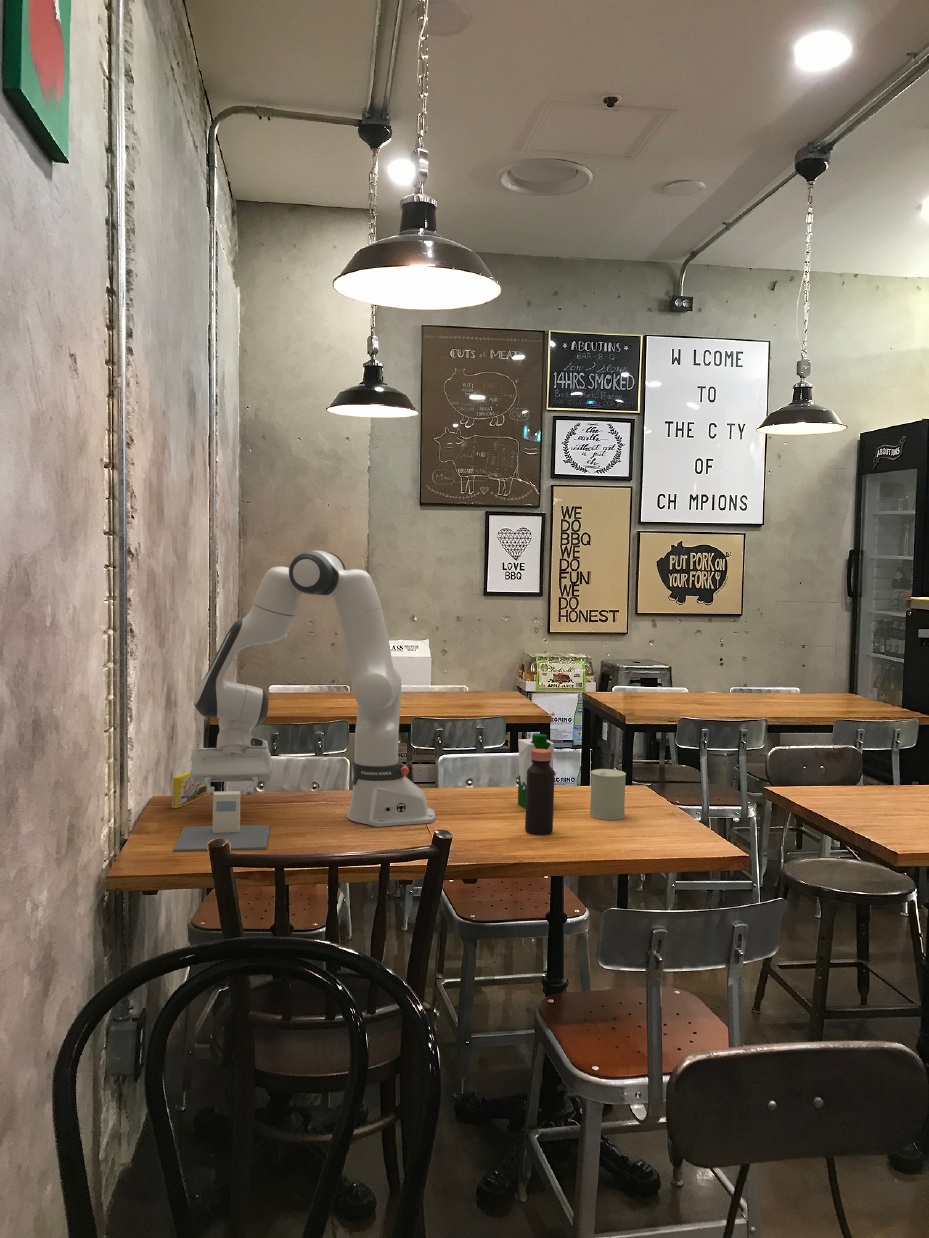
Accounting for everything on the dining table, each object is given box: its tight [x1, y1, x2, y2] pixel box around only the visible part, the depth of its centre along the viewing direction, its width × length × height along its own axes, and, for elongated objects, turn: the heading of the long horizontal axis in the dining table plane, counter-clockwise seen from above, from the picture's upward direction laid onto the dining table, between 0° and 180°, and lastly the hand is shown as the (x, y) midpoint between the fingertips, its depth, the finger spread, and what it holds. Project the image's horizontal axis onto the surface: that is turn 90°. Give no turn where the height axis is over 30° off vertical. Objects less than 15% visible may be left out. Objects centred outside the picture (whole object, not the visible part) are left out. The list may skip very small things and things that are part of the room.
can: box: [589, 768, 627, 821], centre depth 236 cm, size 9×9×12 cm
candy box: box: [171, 769, 208, 809], centre depth 240 cm, size 16×2×8 cm, turn 168°
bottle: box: [524, 749, 556, 836], centre depth 219 cm, size 7×7×20 cm
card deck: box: [212, 790, 241, 833], centre depth 212 cm, size 6×3×9 cm, turn 100°
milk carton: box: [517, 733, 555, 810], centre depth 244 cm, size 9×9×20 cm
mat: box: [172, 824, 271, 853], centre depth 207 cm, size 20×18×1 cm
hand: (230, 794), depth 223 cm, fingers open, 8 cm apart
